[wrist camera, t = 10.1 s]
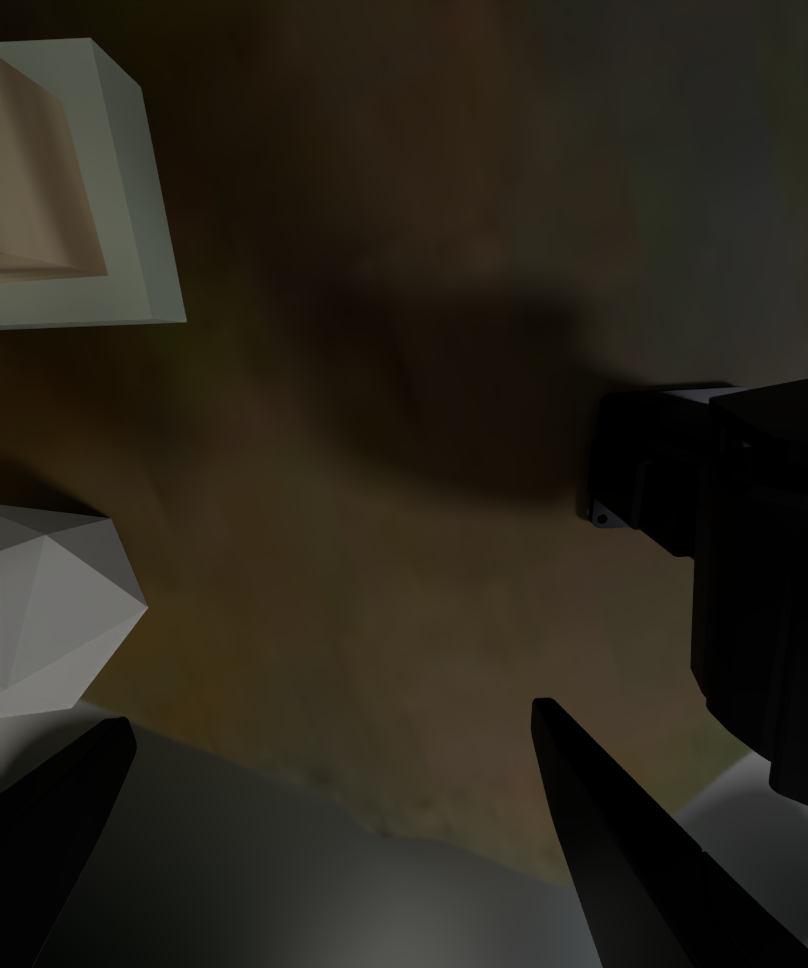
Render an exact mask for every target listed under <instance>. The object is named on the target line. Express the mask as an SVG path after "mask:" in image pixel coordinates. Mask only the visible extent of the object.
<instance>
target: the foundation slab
mask: <svg viewBox="0 0 808 968" xmlns="http://www.w3.org/2000/svg"><path fill="white" fill-rule="evenodd" d="M0 58H1V59H3V60H4V61H6V62H7V63H8V64H10V65H11V66H13V67H14V68H15V69H17V70H18V71H20V72H21V73H23V74H24V75H25V76H27V77H28V78H30V79H31V80H33V81H34V82H35V83H37V84H38V85H40V86H41V87H42V88H44V89H45V90H47V91H48V92H50V93H51V94H52V95H54V96H55V97H57V98H58V99H60V100H61V101H62V104H63V108H64V112H65V115H66V119H67V123H68V127H69V130H70V134H71V138H72V141H73V145H74V149H75V153H76V156H77V160H78V164H79V167H80V171H81V175H82V179H83V182H84V186H85V190H86V194H87V197H88V201H89V205H90V208H91V212H92V216H93V220H94V223H95V227H96V231H97V234H98V238H99V242H100V246H101V249H102V253H103V257H104V260H105V264H106V268H107V272H108V275H109V276H95V277H81V278H66V279H51V280H37V281H22V282H7V283H0V330H12V329H36V328H60V327H84V326H108V325H132V324H156V323H181V322H187V320H186V315H185V310H184V305H183V300H182V295H181V289H180V284H179V279H178V274H177V269H176V264H175V259H174V254H173V248H172V243H171V238H170V233H169V228H168V223H167V218H166V213H165V207H164V202H163V197H162V192H161V187H160V182H159V177H158V172H157V167H156V161H155V156H154V151H153V146H152V141H151V136H150V131H149V126H148V120H147V115H146V110H145V105H144V100H143V95H142V90H141V87H140V86H139V85H138V84H137V83H136V82H135V81H134V80H133V79H132V78H131V77H130V76H129V75H128V74H127V73H126V72H125V71H124V70H123V69H122V68H121V67H120V66H119V65H118V64H117V63H116V62H115V61H114V60H113V59H111V58H110V57H109V56H108V55H107V54H106V53H105V52H104V51H103V50H102V49H101V48H100V47H99V46H98V45H97V44H96V43H95V42H94V41H93V40H92V39H91V38H76V39H55V40H34V41H12V42H0Z"/></svg>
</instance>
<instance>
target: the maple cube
mask: <svg viewBox="0 0 808 968" xmlns="http://www.w3.org/2000/svg"><path fill="white" fill-rule="evenodd" d="M95 276H109V275H108V272H107V268H106V264H105V260H104V257H103V253H102V249H101V246H100V242H99V238H98V234H97V231H96V227H95V223H94V220H93V216H92V212H91V208H90V205H89V201H88V197H87V194H86V190H85V186H84V182H83V179H82V175H81V171H80V167H79V164H78V160H77V156H76V153H75V149H74V145H73V141H72V138H71V134H70V130H69V127H68V123H67V119H66V115H65V112H64V108H63V104H62V101H61V100H60V99H58V98H57V97H55V96H54V95H52V94H51V93H50V92H48V91H47V90H45V89H44V88H42V87H41V86H40V85H38V84H37V83H35V82H34V81H33V80H31V79H30V78H28V77H27V76H25V75H24V74H23V73H21V72H20V71H18V70H17V69H15V68H14V67H13V66H11V65H10V64H8V63H7V62H6V61H4V60H3V59H1V58H0V283H7V282H22V281H37V280H51V279H66V278H81V277H95Z"/></svg>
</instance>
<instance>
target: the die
mask: <svg viewBox="0 0 808 968" xmlns="http://www.w3.org/2000/svg"><path fill="white" fill-rule="evenodd" d="M147 608H148V606H147V604H146V601H145V599H144V597H143V594H142V592H141V589H140V587H139V585H138V582H137V580H136V577H135V575H134V573H133V570H132V568H131V565H130V563H129V560H128V558H127V556H126V553H125V551H124V548H123V546H122V544H121V541H120V539H119V536H118V534H117V531H116V529H115V527H114V524H113V522H112V519H111V518H104V517H95V516H87V515H79V514H71V513H63V512H55V511H47V510H39V509H31V508H23V507H15V506H7V505H0V718H3V717H10V716H18V715H25V714H32V713H40V712H48V711H55V710H63V709H70V708H72V707H73V706H74V704H75V703H76V702H77V701H78V699H79V698H80V697H81V695H82V694H83V693H84V691H85V690H86V689H87V687H88V686H89V685H90V683H91V682H92V681H93V680H94V678H95V677H96V676H97V674H98V673H99V672H100V670H101V669H102V668H103V666H104V665H105V664H106V662H107V661H108V660H109V658H110V657H111V656H112V655H113V653H114V652H115V651H116V649H117V648H118V647H119V645H120V644H121V643H122V641H123V640H124V639H125V637H126V636H127V635H128V633H129V632H130V631H131V630H132V628H133V627H134V626H135V624H136V623H137V622H138V620H139V619H140V618H141V616H142V615H143V614H144V612H145V611H146V610H147Z"/></svg>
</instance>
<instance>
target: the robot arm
mask: <svg viewBox="0 0 808 968" xmlns="http://www.w3.org/2000/svg"><path fill="white" fill-rule="evenodd" d="M613 400H616V401H617V405H616V407H615V408H614V409H610V403H611V402H612V401H613ZM587 491H588V493H589V494H590V495H591V498H590V507H589V521H590V522H591V523H592V524H593V525H594V526H595V527H597V528H621V527H631V528H632V529H634V530H641V531H642V532H644V533H645V534H646V535H648V536H649V537H650V538H651V539H653V540H654V541H655V542H656V543H658V544H659V545H660V546H662V547H663V548H664V549H665V550H667V551H668V552H669V553H671V554H672V555H673V556H676V557H686V556H689V557H690V558H692V559H693V560H694V585H693V610H692V636H691V666H690V668H691V670H692V672H693V674H694V677H695V679H696V681H697V683H698V685H699V687H700V689H701V692H702V693H703V695H704V696H705V697H706V707H707V709H708V710H709V712H710V713H711V714H712V715H713V716H714V717H715V718H716V719H717V720H718V721H719V722H720V723H721V724H722V725H723V726H724V727H725V728H726V729H727V730H728V731H729V732H730V733H731V734H733V735H734V736H735V737H737V738H738V739H739V740H741V741H742V742H743V743H744V744H746V745H747V746H748V747H750V748H751V749H752V750H754V751H755V752H756V753H758V754H759V755H761V756H762V757H764V758H765V759H767V760H768V761H770V762H771V768H770V775H769V785H770V786H771V788H772V789H773V790H774V791H775V792H776V793H778V794H780V795H782V796H785V797H788V798H790V799H792V800H795V801H798V802H800V803H802V804H805V805H807V806H808V379H804V380H798V381H793V382H788V383H783V384H777V385H772V386H767V387H762V388H756V389H751V390H750V389H749V388H746V387H739V386H729V387H710V388H690V389H671V390H652V391H633V392H614V393H609V394H607V395H605V396H604V397H603V398H602V400H601V403H600V410H599V419H598V429H597V438H596V439H595V440H594V441H593V442H592V447H591V457H590V467H589V477H588V487H587ZM602 514H604V517H603V518H602V519H601V520H599V521H598V520H597V518H598V516H600V515H602ZM531 734H532V739H533V743H534V748H535V752H536V756H537V760H538V764H539V768H540V773H541V777H542V781H543V785H544V789H545V793H546V797H547V802H548V806H549V809H550V813H551V817H552V820H553V823H554V827H555V830H556V833H557V836H558V839H559V842H560V844H561V847H562V850H563V853H564V856H565V859H566V862H567V865H568V868H569V871H570V874H571V876H572V879H573V882H574V885H575V888H576V891H577V894H578V897H579V899H580V902H581V906H582V908H583V911H584V914H585V917H586V920H587V923H588V926H589V929H590V931H591V935H592V937H593V940H594V943H595V946H596V949H597V952H598V955H599V958H600V961H601V963H602V967H603V968H808V948H807V947H806V946H805V945H803V944H802V943H801V942H800V941H799V940H798V939H797V938H796V937H794V935H792V934H791V933H790V932H789V931H788V930H787V929H786V928H785V927H784V926H782V925H781V924H780V923H779V922H778V921H777V920H776V919H775V918H774V917H773V916H772V915H771V914H769V913H768V912H767V911H766V910H765V909H764V908H763V907H762V906H761V905H759V903H758V902H757V901H756V900H755V899H754V898H752V897H751V896H750V895H749V894H748V893H747V892H746V891H745V890H744V889H743V888H742V887H741V886H740V885H739V884H738V883H737V882H736V881H735V880H734V879H733V878H732V877H731V876H730V875H729V874H728V873H727V872H726V871H725V870H724V869H723V868H722V867H721V866H720V865H719V864H718V863H717V862H716V861H715V860H714V859H713V858H712V857H711V856H710V855H709V854H708V853H707V852H705V851H704V852H702V848H701V846H700V845H698V843H697V842H695V840H694V839H693V838H692V837H691V836H690V835H689V834H687V832H685V830H684V829H683V828H682V827H681V826H680V825H679V824H678V823H677V822H676V821H675V820H674V819H673V818H672V817H671V816H670V815H669V814H668V813H667V812H666V811H665V810H664V809H663V808H662V807H661V806H660V805H659V804H658V803H657V802H656V801H655V800H654V799H653V798H652V797H651V796H650V795H649V794H648V793H647V792H646V791H645V790H644V789H643V788H642V787H641V786H640V785H639V784H638V783H637V782H636V781H635V780H634V779H633V778H632V777H631V776H630V775H629V774H628V773H627V772H626V771H625V770H624V769H623V768H622V767H621V766H620V765H619V764H618V763H617V762H616V761H615V760H614V759H613V758H612V757H611V756H610V755H609V754H608V753H607V752H606V751H605V750H604V749H603V748H602V747H601V746H600V745H599V744H598V743H597V742H596V741H595V740H594V739H593V738H592V737H591V736H590V735H589V734H588V733H587V732H586V731H585V730H584V729H583V728H582V727H581V726H580V725H579V724H578V723H577V722H576V721H575V720H574V719H573V718H572V717H571V716H570V715H569V714H568V713H567V712H566V711H565V710H564V709H563V708H562V707H561V706H560V705H559V704H558V703H557V702H556V701H555V700H554V699H552V698H535V699H534V700H533V702H532V715H531ZM136 749H137V743H136V739H135V737H134V734H133V731H132V728H131V725H130V722H129V720H128V719H127V718H126V717H108V718H105V719H103V720H102V721H100V722H99V723H97V724H96V725H95V726H93V727H92V728H90V729H89V730H87V731H86V732H85V733H84V734H82V735H80V736H79V737H78V738H76V739H75V740H74V741H72V742H71V743H70V744H68V745H67V746H65V747H64V748H62V749H61V750H60V751H58V752H57V753H55V754H54V755H52V756H51V757H50V758H48V759H47V760H45V761H44V762H43V763H41V764H40V765H39V766H37V767H36V768H34V769H33V770H32V771H30V772H29V773H27V774H26V775H25V776H23V777H22V778H20V779H19V780H17V781H16V782H15V783H13V784H12V785H10V786H9V787H8V788H6V789H5V790H3V791H2V792H1V793H0V968H32V966H33V965H34V963H35V961H36V959H37V957H38V955H39V953H40V951H41V949H42V947H43V945H44V943H45V942H46V940H47V938H48V936H49V934H50V932H51V930H52V928H53V926H54V924H55V922H56V921H57V919H58V917H59V915H60V913H61V911H62V909H63V907H64V905H65V903H66V901H67V899H68V898H69V896H70V894H71V892H72V890H73V888H74V886H75V884H76V882H77V880H78V879H79V877H80V875H81V873H82V871H83V869H84V867H85V865H86V863H87V861H88V859H89V857H90V856H91V854H92V852H93V850H94V848H95V846H96V844H97V841H98V839H99V838H100V836H101V833H102V831H103V829H104V827H105V825H106V823H107V820H108V818H109V816H110V813H111V810H112V808H113V806H114V804H115V801H116V799H117V797H118V794H119V792H120V790H121V787H122V785H123V783H124V780H125V778H126V776H127V773H128V771H129V768H130V766H131V764H132V762H133V759H134V757H135V754H136Z"/></svg>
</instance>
